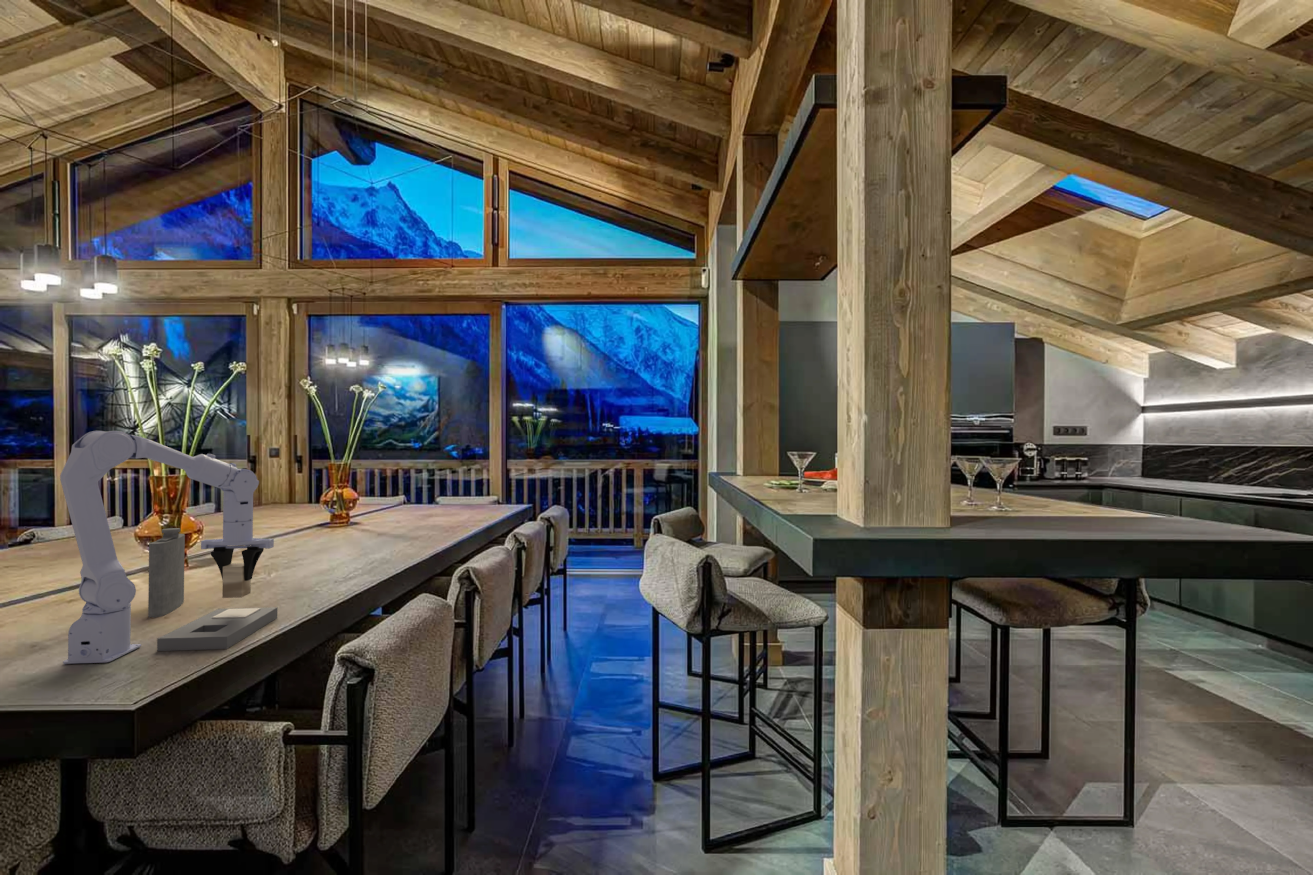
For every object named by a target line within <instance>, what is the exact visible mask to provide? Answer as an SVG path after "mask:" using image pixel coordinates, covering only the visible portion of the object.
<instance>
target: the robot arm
mask: <svg viewBox="0 0 1313 875" xmlns="http://www.w3.org/2000/svg"><path fill="white" fill-rule="evenodd" d="M216 457H217V456H216V455H215V454H212V453H207V454H203V453H200V454H197V455H195V456H194V455H193V456H191V455H190V454H186V453H184V452H182V451H179V450H177V449H174V448H172V447H168V446H166V445H164V444H162V443H159V442H156V441H154V440H152V439H148V438H145V437H142V436H138V435H134V434H128V433H125V432H124V431H119V430H109V431H106V430H105V431H104V430H93V431H89V432H86V433H85V434H84V435H82V436H81V437H79V439H77V440H76V441H75V442H74V443H73V444H72V445H71V451H70V454H69V456H68V458H67V460H66V461H65V462H66V463H65V464H64V467H63V469H62V470H61V473H60V476H59V477H60V478H59V479H60V484H61V487H62V491H63V496H64V499H65V502H66V506H67V509H68V513H69V518H70V522H71V524H72V528H73V533H74V536H75V540H76V544H77V547H78V548H77V549H78V551H79V555H80V558H81V563H82V566H81V569H80V572H79V573H80V577H81V581H80V585H79V587H78V596H79V597H80V599H81V600H82V601H84V602H85V603H84V605H83V607H82V609H81V611H82V613H81V616H80V617H79V618H78V619H77V620H74V622H72V624H71V625H70V627H69V629H68V634H67V636H68V641H67V648H68V649H67V651H68V652H67V653H68V654H67V659H65V660H62V664H63V665H67V664H69V665H71V664H93V663H94V664H95V663H96V664H98V663H99V664H101V663H103V664H104V663H110V662H112V661H114V660H116V659H118V658H120V657H123V656H124V655H126V654H128V653H131V652H132V651H135V650H137V649H138V648H141V647H142V643H132V644H131V631H132V629H131V625H132V624H131V623H132V622H131V621H132V619H131V618H132V617H131V615H132V611H131V610H132V606H131V605H132V601H133V600H134V598H135V596H136V593H137V588H136V586H135V584H134V582H133V581H132V580H131V579H129V578H128V577H127V574H126V571H125V568H124V567H123V566H122V564H121V562H120V561H119V559H118V556H117V553H116V548H115V545H114V540H113V536H112V533H111V530H110V524H109V521H108V517H107V513H106V510H105V506H104V501H103V498H102V495H101V490H100V487H99V481H100V480H101V479H103V477H104V476H105V475H107V474H108V472H109V471H110V470H112V469H113V468H115V467H117V466H119V465H121V464H122V463H125V462H126V461H127V460H128V459H142V458H143V459H147V460H151V461H155V462H158V463H160V464H164V465H167V466H171V467H174V468H176V469H180V470H183V471H184V473H185V474H186V475H187V478H189V479H190V480H194V481H196V482H200V483H202V484H205V485H208V486H211V487H215V488H217V489H220V491H222V492H223V501H222V502H223V504H222V508H223V510H222V538H213V539H203V540H201V541H200V549H201V550H207V549H208V550H209V549H210V550H211V549H213V550H212V551H211V552H210V555H211V557H212V559H213V560H214V562H215V563H216V565H217V567H218V569H219V572H220V576H221V580H222V581H223V567H224V566H227V565H229V564H232V560H233V554H234V549H244V550H241V555H242V561H243V563H244V580H245V581H248V580H250V579H251V580H252V579H253V575H254V572H255V571H254V570H255V567H257V563H258V561H259V559H260V557H261V555H262V553H263V552H264V549H272V548H274V546H275V545H274V544H275V541H274V538H261V537H258V538H257V537H253V536H254V535H253V533H254V493H255V491H256V490H257V488H258V486H259V484H260V480H258V477H257V475H256V474H255V473H254V471H252V470H250V469H246V468H238V467H237V463H234V462H230V463H228V462H225V461H222V460H219V459H217V458H216Z"/></svg>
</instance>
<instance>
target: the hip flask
mask: <svg viewBox="0 0 1313 875" xmlns="http://www.w3.org/2000/svg"><path fill="white" fill-rule="evenodd" d="M180 532H181V528H180V527H178V528H177V527H176V528H175V527H174V528H173V527H169V528H163V529H161V533H162V537H161V538H159V539H157V540H156V541H153V542H152V541H151V542H149V544H148V595H147V596H148V597H147V599H148V600H147V603H148V604H147V606H148V609H147V615H148V616H147V617H148V618H151V617H153V618H160V617H164V616H166V615H168V614H170V613H172V612H174V611H175V610H177V609H178V608H180V607H181V606H183V604H184V602H185V547H186V546H185V544H186V542H185V537H186V535H185V534H184V533H180ZM173 610H174V611H173Z"/></svg>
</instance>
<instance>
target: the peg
mask: <svg viewBox="0 0 1313 875" xmlns="http://www.w3.org/2000/svg"><path fill="white" fill-rule="evenodd" d="M251 583H252V579H250V580H248V581H245V580H244V562H241V563H240V562H237V563H236V562H233V563H232V562H231V564H229V565H227V566H224V567H223V580H222V596H221V598H223V599H230V598H231V599H232V598H233V599H234V598H235V599H236V598H238V599H239V598H244V597H246V596H247V595H250V594H251V587H252V586H251V585H252V584H251Z"/></svg>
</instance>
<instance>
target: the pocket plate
mask: <svg viewBox="0 0 1313 875" xmlns="http://www.w3.org/2000/svg"><path fill="white" fill-rule="evenodd" d="M276 619H278V607H276V606H275V607H238V608H236V607H235V608H231V607H230V608H217V609H215V610H213V611H210V612H208V613H207V614H205V615H203V616H201V617H198V618H196V619H194V620H193V621H191V622H189V623H186V624H184V625H183V626H179V627H178V628H176V629H174V630H172V631H170V632H168V633H166V634H163V635H161V636H160V637H158V638H156V639H157V640H156V641H157V644H156V651H157V652H166V651H167V652H168V651H170V652H171V651H195V650H196V651H197V650H201V651H202V650H203V651H204V650H228V649H229V648H231V647H232V646H235V645H236V644H237V643H239V642H240V641H242V640H244V639H245V638H247V637H249V636H250V635H252V634H254V633H256V632H257V631H259V630H261V629H262V628H264V627H265V626H267V625H269V624H270V623H271V622H273V621H274V620H275V621H276Z"/></svg>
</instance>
